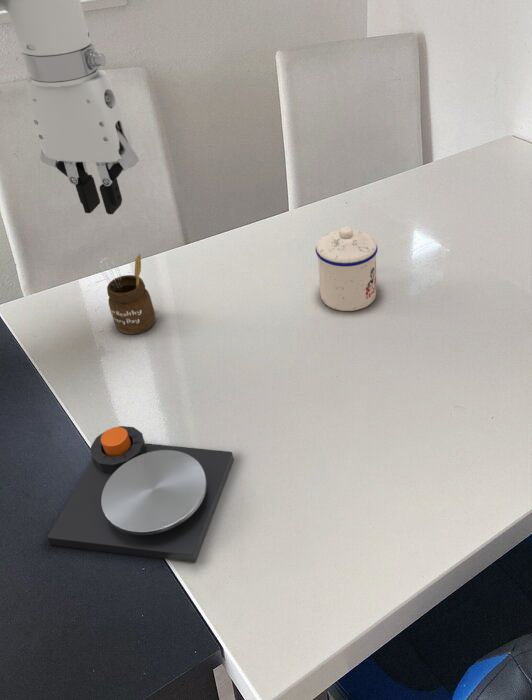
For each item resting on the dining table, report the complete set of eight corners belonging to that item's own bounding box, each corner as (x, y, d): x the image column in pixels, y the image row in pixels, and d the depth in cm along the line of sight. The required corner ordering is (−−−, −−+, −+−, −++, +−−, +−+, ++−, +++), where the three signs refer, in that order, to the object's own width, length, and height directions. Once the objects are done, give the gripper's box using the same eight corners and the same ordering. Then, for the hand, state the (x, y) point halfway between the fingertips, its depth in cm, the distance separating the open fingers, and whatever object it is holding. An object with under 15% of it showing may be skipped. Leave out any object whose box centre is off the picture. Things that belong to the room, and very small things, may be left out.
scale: (50, 545, 72) (41, 528, 70) (110, 441, 83) (103, 423, 81) (195, 563, 70) (190, 546, 68) (236, 453, 81) (232, 436, 79)
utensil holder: (125, 310, 104) (105, 242, 96) (164, 313, 103) (146, 244, 95) (108, 333, 100) (85, 264, 92) (149, 337, 99) (129, 267, 91)
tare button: (100, 455, 78) (96, 444, 77) (111, 436, 80) (107, 425, 79) (124, 457, 77) (121, 447, 76) (135, 438, 80) (131, 428, 79)
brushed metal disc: (84, 529, 70) (82, 525, 69) (127, 449, 78) (126, 445, 78) (187, 541, 68) (185, 537, 68) (219, 458, 76) (218, 454, 76)
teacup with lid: (380, 311, 102) (379, 244, 94) (319, 314, 102) (314, 247, 94) (374, 268, 111) (373, 203, 104) (318, 270, 111) (314, 206, 103)
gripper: (140, 54, 79) (172, 198, 91) (14, 52, 81) (60, 193, 93) (114, 75, 73) (151, 226, 85) (-22, 72, 76) (32, 220, 87)
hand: (103, 207), depth 89 cm, fingers closed
